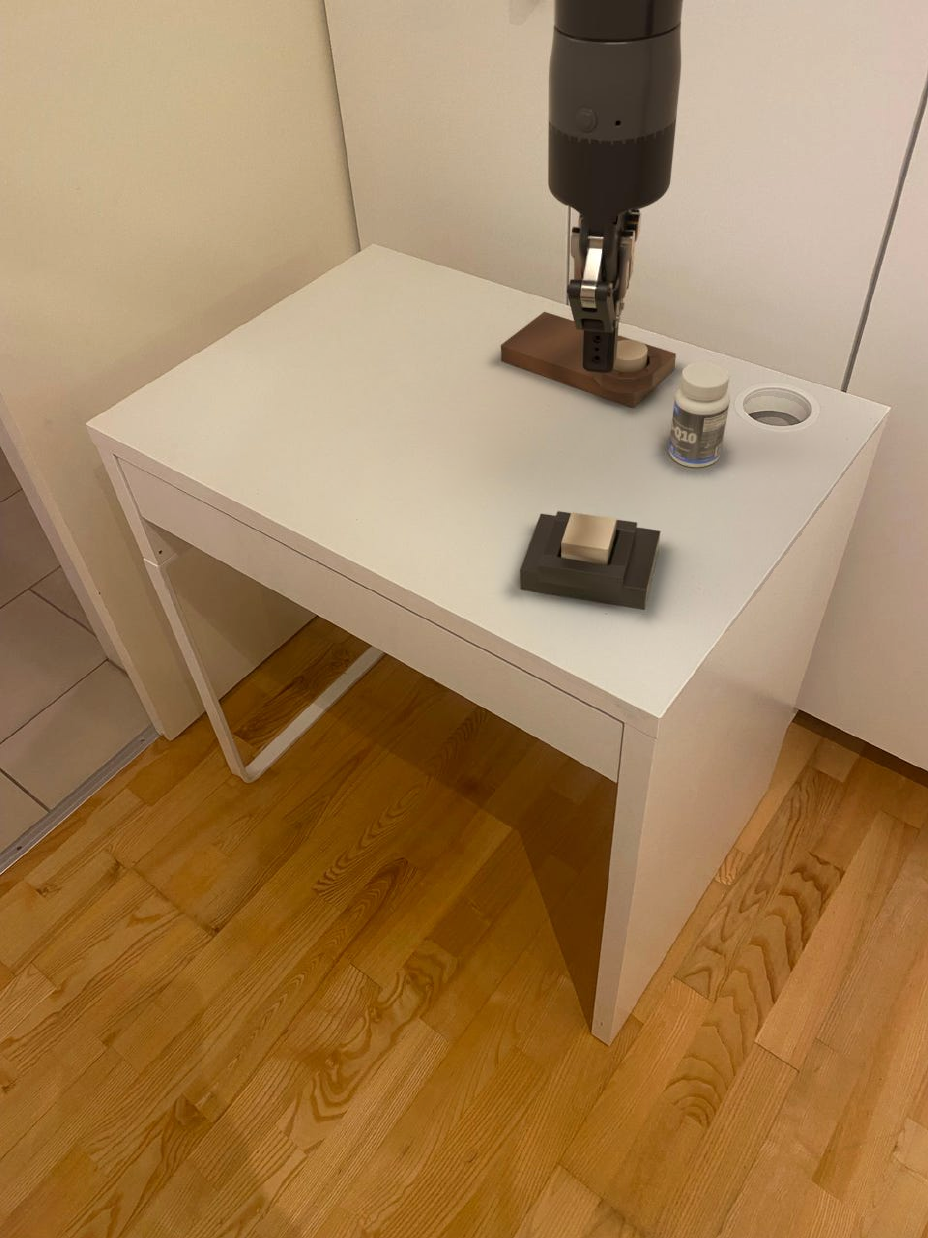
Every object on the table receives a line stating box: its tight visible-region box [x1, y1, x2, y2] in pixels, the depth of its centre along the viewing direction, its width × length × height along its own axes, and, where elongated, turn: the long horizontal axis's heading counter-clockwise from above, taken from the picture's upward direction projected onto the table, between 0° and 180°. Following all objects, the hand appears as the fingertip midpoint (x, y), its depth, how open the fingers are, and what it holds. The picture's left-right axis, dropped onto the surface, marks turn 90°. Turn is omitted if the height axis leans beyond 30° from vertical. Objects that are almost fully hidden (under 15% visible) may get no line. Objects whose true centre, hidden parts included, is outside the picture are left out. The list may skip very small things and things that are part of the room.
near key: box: [561, 512, 618, 565], centre depth 74 cm, size 4×4×2 cm
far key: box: [613, 339, 648, 372], centre depth 92 cm, size 4×4×2 cm
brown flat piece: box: [500, 311, 677, 409], centre depth 97 cm, size 17×9×4 cm, turn 52°
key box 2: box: [519, 510, 661, 610], centre depth 76 cm, size 10×8×4 cm
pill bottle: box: [668, 361, 731, 468], centre depth 85 cm, size 5×5×8 cm
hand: (599, 366), depth 69 cm, fingers closed
